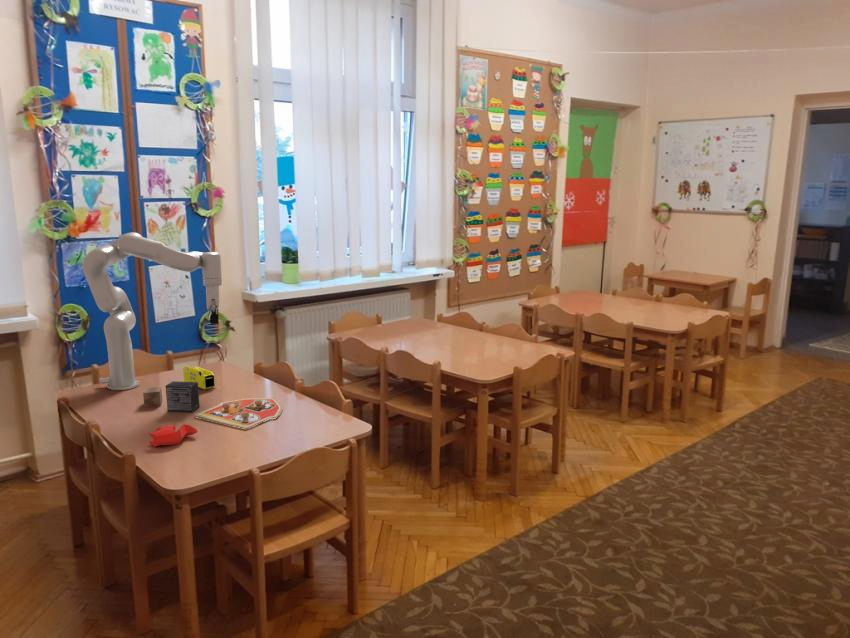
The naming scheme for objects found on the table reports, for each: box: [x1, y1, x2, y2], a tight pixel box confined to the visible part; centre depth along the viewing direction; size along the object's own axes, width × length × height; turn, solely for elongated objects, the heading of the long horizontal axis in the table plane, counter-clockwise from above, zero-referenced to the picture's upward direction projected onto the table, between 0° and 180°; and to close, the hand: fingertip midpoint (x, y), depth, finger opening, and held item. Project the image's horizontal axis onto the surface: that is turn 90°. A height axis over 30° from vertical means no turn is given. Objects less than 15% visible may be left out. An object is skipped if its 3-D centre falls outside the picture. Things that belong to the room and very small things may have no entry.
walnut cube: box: [142, 386, 163, 408], centre depth 261 cm, size 6×6×6 cm
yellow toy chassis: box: [182, 365, 216, 390], centre depth 284 cm, size 16×6×8 cm, turn 51°
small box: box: [165, 381, 200, 413], centre depth 255 cm, size 11×6×10 cm, turn 84°
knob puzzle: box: [194, 397, 284, 429], centre depth 254 cm, size 29×30×4 cm
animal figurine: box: [148, 423, 199, 448], centre depth 226 cm, size 12×15×5 cm
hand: (214, 321), depth 282 cm, fingers open, 9 cm apart
